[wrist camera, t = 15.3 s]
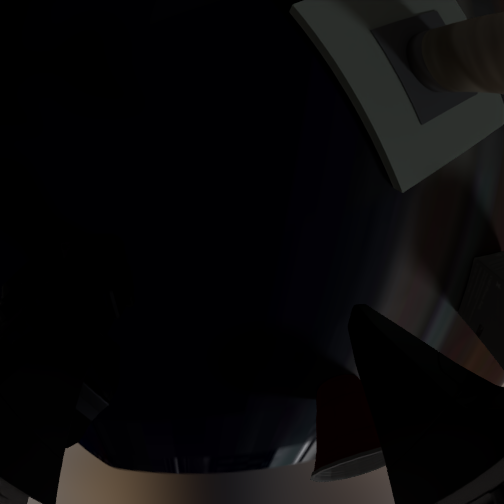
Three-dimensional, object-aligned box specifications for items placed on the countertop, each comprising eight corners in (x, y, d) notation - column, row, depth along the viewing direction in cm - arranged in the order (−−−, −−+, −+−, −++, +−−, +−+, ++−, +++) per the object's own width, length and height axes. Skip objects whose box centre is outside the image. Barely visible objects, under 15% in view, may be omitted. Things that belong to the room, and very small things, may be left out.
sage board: (393, 188, 20) (403, 193, 19) (288, 11, 14) (292, 3, 13) (498, 119, 17) (509, 121, 16) (426, -25, 11) (436, -30, 9)
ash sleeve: (396, 59, 14) (511, 38, 4) (420, 21, 13) (521, -7, 3) (440, 105, 16) (554, 121, 6) (461, 65, 14) (564, 67, 4)
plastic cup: (289, 414, 33) (300, 492, 22) (305, 363, 29) (327, 461, 18) (361, 406, 34) (384, 474, 23) (389, 356, 29) (428, 436, 19)
